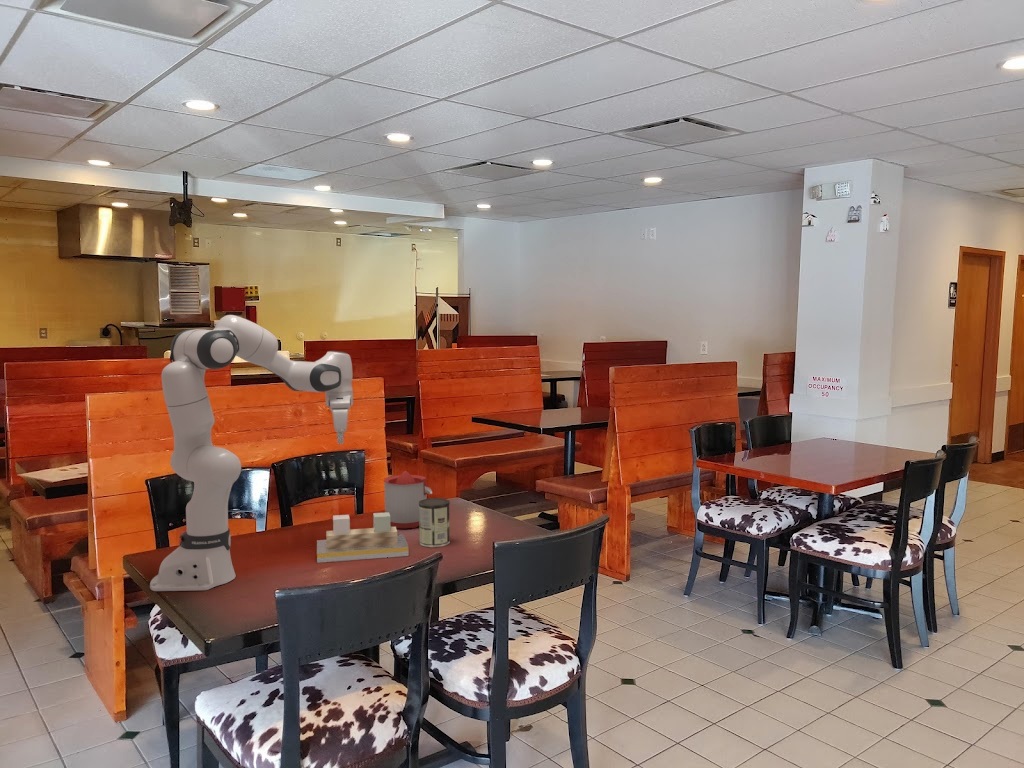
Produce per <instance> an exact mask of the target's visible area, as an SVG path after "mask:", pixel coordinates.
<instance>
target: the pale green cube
mask: <svg viewBox="0 0 1024 768" xmlns="http://www.w3.org/2000/svg"><path fill="white" fill-rule="evenodd" d="M372 517H373V520H372V521H373V526H372V528H374V532H375V533H377V532H391V529H390V527H391V526H390V514H389V512H386V511H385V512H373V515H372Z"/></svg>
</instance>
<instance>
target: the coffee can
mask: <svg viewBox="0 0 1024 768" xmlns="http://www.w3.org/2000/svg"><path fill="white" fill-rule="evenodd" d="M450 503H451V501H450V499H448V498H447V499H446V498H442V497H441V498H440V497H439V498H438V497H434V498H433V497H431V498H427V499H424V500H421V501H419V526H418V528H419V529H418V530H419V545H420V546H422V547H424V548H442V547H445V546H447V545H449V544H450V543H451V541H450V535H451V533H450V532H451V530H450Z"/></svg>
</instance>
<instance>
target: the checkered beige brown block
mask: <svg viewBox="0 0 1024 768" xmlns="http://www.w3.org/2000/svg"><path fill="white" fill-rule="evenodd" d="M390 529H391V532H377V533H375V532H374V527H371V528H370V527H366V528H353V529H351V528H350V534H346V535H334V533H333V530H326V532H325V533H326V534H325V536H326V539H325V540H326V541H327V549H331V548H345V547H359V546H373V545H388V544H397V535H398V530H397V529H398V528H396V527H392V526H390Z"/></svg>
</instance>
